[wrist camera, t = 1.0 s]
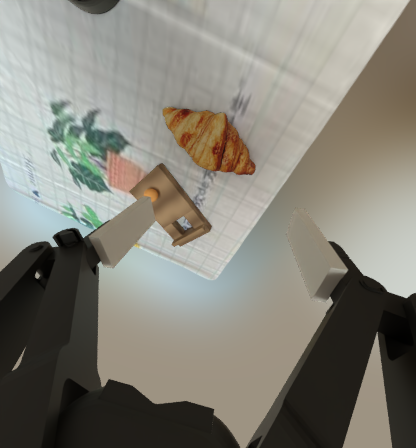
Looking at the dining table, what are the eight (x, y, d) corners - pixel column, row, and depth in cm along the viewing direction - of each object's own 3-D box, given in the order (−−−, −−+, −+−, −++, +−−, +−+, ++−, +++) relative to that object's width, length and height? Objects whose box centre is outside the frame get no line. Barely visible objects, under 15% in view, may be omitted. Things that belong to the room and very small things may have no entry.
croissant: (169, 126, 36) (148, 145, 32) (174, 73, 27) (147, 90, 24) (247, 175, 38) (236, 198, 34) (275, 140, 29) (265, 166, 25)
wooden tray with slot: (135, 188, 42) (124, 194, 38) (162, 163, 37) (153, 167, 33) (183, 241, 48) (177, 251, 45) (211, 226, 44) (208, 235, 40)
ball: (145, 191, 39) (138, 195, 36) (153, 184, 38) (147, 188, 35) (154, 201, 40) (148, 206, 37) (163, 194, 39) (157, 199, 36)
